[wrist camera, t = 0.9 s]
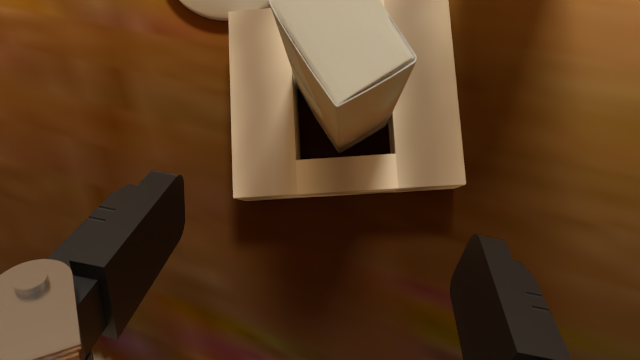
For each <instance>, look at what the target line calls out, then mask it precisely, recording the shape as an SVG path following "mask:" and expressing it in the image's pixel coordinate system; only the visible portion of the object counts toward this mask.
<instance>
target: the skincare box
mask: <svg viewBox="0 0 640 360" xmlns="http://www.w3.org/2000/svg"><path fill="white" fill-rule="evenodd" d="M269 5H270V7H271V10H272V13H273V15H274V18H275V21H276V24H277V27H278V30H279V33H280V36H281V39H282V42H283V45H284V48H285V51H286V54H287V57H288V60H289V63H290V65H291V68H292V71H293V74H294V77H295V81H296V84H297V87H298V89H299V91H300V93H301V94H302V96H303V98H304V100H305V101H306V103H307V105H308V107H309V108H310V110H311V112H312V113H313V115H314V116H315V118H316V120H317V121H318V123H319V125H320V126H321V128H322V129H323V131H324V132H325V133H326V135H327V136H328V138H329V139H330V141H331V142H332V144H333V145H334V147H335V148H336V150H337V151H338V153H341V152H343V151H345V150H346V149H348V148H350V147H352V146H354V145H355V144H357V143H359V142H361V141H362V140H364V139H366V138H367V137H369V136H371V135H372V134H374V133H375V132H377V131H379V130H380V129H382V128H384V127H385V126H386V125H387V123H388V121H389V119H390V117H391V115H392V113H393V110H394V108H395V106H396V104H397V102H398V100H399V98H400V95H401V93H402V91H403V89H404V87H405V85H406V82H407V80H408V78H409V76H410V74H411V72H412V70H413V68H414V66H415V64H416V61H417V56H416V54H415V53H414V51H413V50H412V48H411V47H410V45H409V44H408V42H407V41H406V39H405V38H404V36H403V35H402V33H401V32H400V30H399V29H398V27H397V26H396V24H395V23H394V22H393V20H392V18H391V17H390V15H389V14H388V12H387V11H386V9H385V8H384V6H383V5H382V3H381V2H380V0H269Z"/></svg>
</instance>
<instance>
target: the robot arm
mask: <svg viewBox="0 0 640 360" xmlns="http://www.w3.org/2000/svg"><path fill="white" fill-rule="evenodd" d="M184 225H185V203H184V181H183V177H182V176H181V175H177V174H172V173H167V172H162V171H157V170H152V171H151V172H150V173H149V174H148V175H147V176H146V177H145V178H144V179H143V180H142V181H141V182H140V184H139V185H138V186H137V185H132V184H129V185H127V186H125V187H123V188H121V189H119V190H117V191H115V192H113V193H111V194H110V195H109V196H108V197H107V198H106V199H105V200H104V202H103V203H102V204H101V205H100V206H99V208H97V209H96V210H95V211H94V212H93V213H92V214H91V215H90V216H89V218H88V219H86V220H85V221H84V222H83V223H82V224H81V225H80V226H79V227H78V228H77V229H76V230H75V231H74V232H73V233H72V234H71V235H70V236H69V237H68V238H67V239H66V240H65V241H64V242H63V243H62V244H61V245H60V246H59V247H58V248H57V249H56V250H55V251H54V252H53V253H52V254H51V255H50V256H49V257H48V258H47V259H39V260H33V261H28V262H25V263H22V264H19V265H17V266H15V267H13V268H11V269H9V270H7V271H6V272H4V273H3V274H2V275H0V360H94V359H93V353H92V348H93V346H94V345H95V343H96V342H97V340H98V339H99V338H100V336H105V337H110V338H115V339H118V338H119V336H120V335H121V333H122V332H123V330H124V328H125V327H126V325H127V324H128V322H129V320H130V319H131V317H132V316H133V314H134V312H135V311H136V309H137V308H138V306H139V304H140V303H141V301H142V300H143V298H144V296H145V295H146V293H147V292H148V290H149V288H150V287H151V285H152V284H153V282H154V280H155V279H156V277H157V276H158V274H159V272H160V271H161V269H162V268H163V266H164V264H165V263H166V261H167V260H168V258H169V256H170V255H171V253H172V252H173V250H174V249H175V247H176V245H177V244H178V242H179V240H180V238H181V236H182V233H183V230H184ZM450 295H451V301H452V306H453V311H454V315H455V320H456V325H457V330H458V335H459V340H460V345H461V350H462V355H463V360H572V359H571V357H570V355H569V352H568V350H567V348H566V346H565V343H564V341H563V339H562V337H561V335H560V332H559V330H558V328H557V326H556V324H555V321H554V319H553V317H552V315H551V313H549V311H548V310H549V308H548V306H547V304H546V301H545V299H544V298H542V293H541V290H540V288H539V286H538V284H537V282H536V279H535V278H534V277H533V275H532V274H531V273H530V272H529V271H528V270H527V269H526V268H525V267H524V265H523V264H522V263H521V262H517V261H513V259H512V256H511V254H510V251H509V249H508V247H507V244H506V242H505V241H504V240H502V239H497V238H492V237H487V236H482V235H477V234H474V235H473V236H472V237H471V238H470V240H469V241H468V244H467V246H466V248H465V250H464V252H463V254H462V256H461V258H460V260H459V262H458V265H457V267H456V269H455V271H454V273H453V276H452V279H451V286H450Z"/></svg>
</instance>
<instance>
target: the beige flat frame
mask: <svg viewBox="0 0 640 360" xmlns="http://www.w3.org/2000/svg"><path fill="white" fill-rule="evenodd" d="M380 2H381V3H382V5H383V6H384V8H385V9H386V11H387V12H388V14H389V15H390V17H391V18H392V20H393V22H394V23H395V24H396V26H397V27H398V29H399V30H400V32H401V33H402V35H403V36H404V38H405V39H406V41H407V42H408V44H409V45H410V47H411V48H412V50H413V51H414V53H415V54H416V56H417V61H416V64H415V66H414V68H413V70H412V72H411V74H410V76H409V78H408V80H407V82H406V85H405V87H404V89H403V91H402V93H401V95H400V98H399V100H398V102H397V104H396V106H395V108H394V110H393V113H392V115H391V117H390V119H389V121H388V128H389V141H390V154H382V155H367V156H351V157H336V158H320V159H305V160H301V150H300V129H299V108H298V87H297V84H296V81H295V77H294V74H293V71H292V68H291V65H290V63H289V60H288V57H287V54H286V51H285V48H284V45H283V42H282V39H281V36H280V33H279V30H278V27H277V24H276V21H275V18H274V15H273V13H272V10H271V8H265V9H254V10H243V11H232V12H228V19H229V57H230V96H231V134H232V172H233V198H235V199H239V200H243V201H254V200H271V199H288V198H305V197H322V196H339V195H356V194H374V193H391V192H408V191H425V190H442V189H455V188H458V187H460V186H463V185H466V177H465V167H464V156H463V146H462V136H461V125H460V115H459V105H458V95H457V84H456V74H455V64H454V54H453V43H452V33H451V23H450V12H449V2H448V0H380Z"/></svg>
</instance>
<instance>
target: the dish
mask: <svg viewBox="0 0 640 360" xmlns="http://www.w3.org/2000/svg"><path fill="white" fill-rule="evenodd" d="M179 1H180V2H181V3H182V4H183V5H184V6H185V7H186V8H188V9H189V10H190V11H192V12H194V13H196V14H197V15H200V16H202V17H205V18H208V19H212V20H218V21H229V19H228V12H232V11H243V10H254V9H265V8H270V5H269V0H179Z"/></svg>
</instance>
